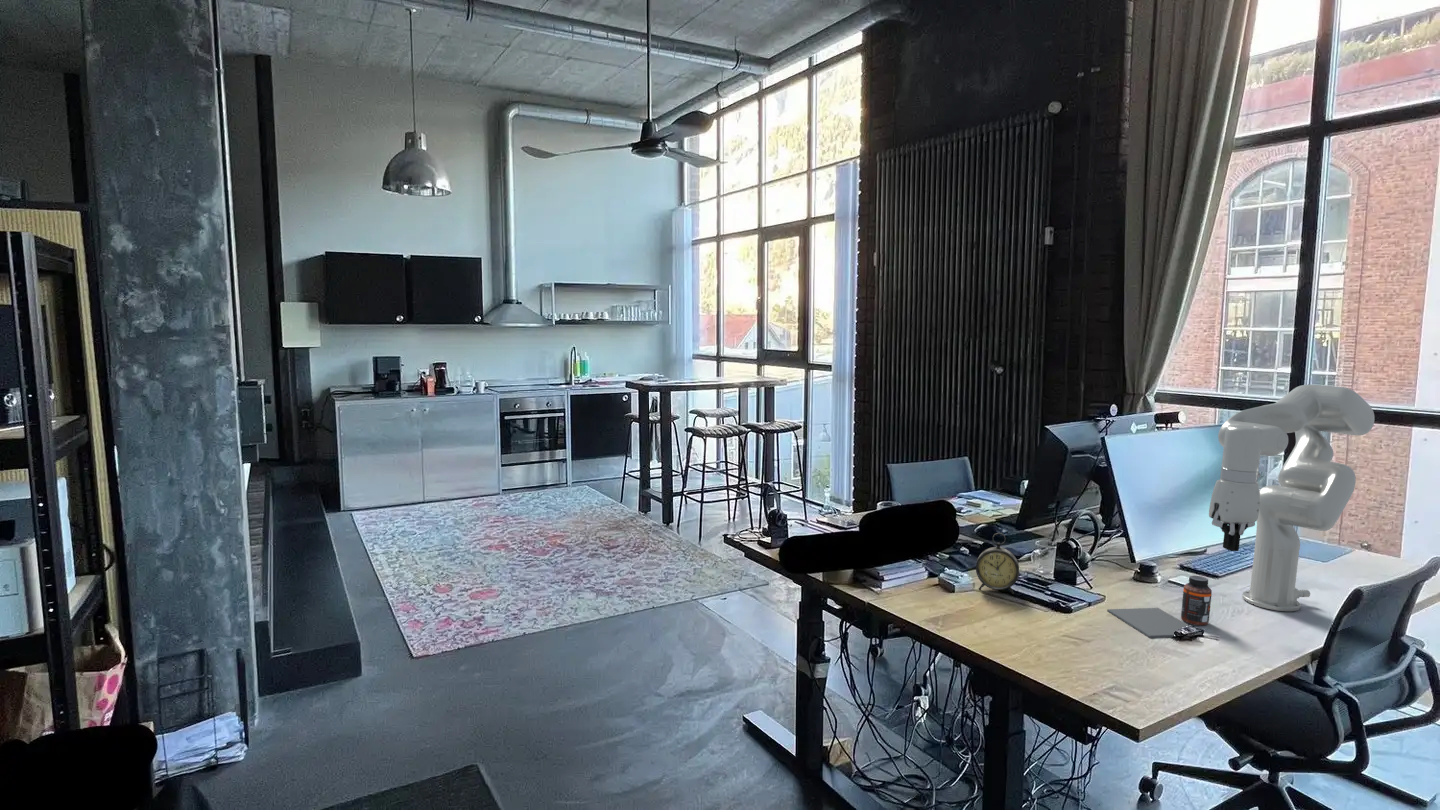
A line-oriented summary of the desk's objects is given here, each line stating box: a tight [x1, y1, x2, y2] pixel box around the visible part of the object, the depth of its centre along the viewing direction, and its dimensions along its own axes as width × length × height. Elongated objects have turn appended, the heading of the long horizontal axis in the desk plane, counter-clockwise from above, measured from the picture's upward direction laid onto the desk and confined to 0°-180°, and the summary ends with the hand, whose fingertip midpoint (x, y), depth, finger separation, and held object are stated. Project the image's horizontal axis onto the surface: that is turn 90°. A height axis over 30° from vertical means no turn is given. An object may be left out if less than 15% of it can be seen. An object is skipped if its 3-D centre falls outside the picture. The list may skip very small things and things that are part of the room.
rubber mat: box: [1106, 607, 1189, 639], centre depth 190 cm, size 14×16×1 cm
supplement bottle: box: [1180, 575, 1213, 626], centre depth 191 cm, size 6×6×11 cm
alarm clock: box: [975, 532, 1020, 595], centre depth 209 cm, size 11×5×16 cm, turn 68°
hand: (1230, 549), depth 190 cm, fingers closed
